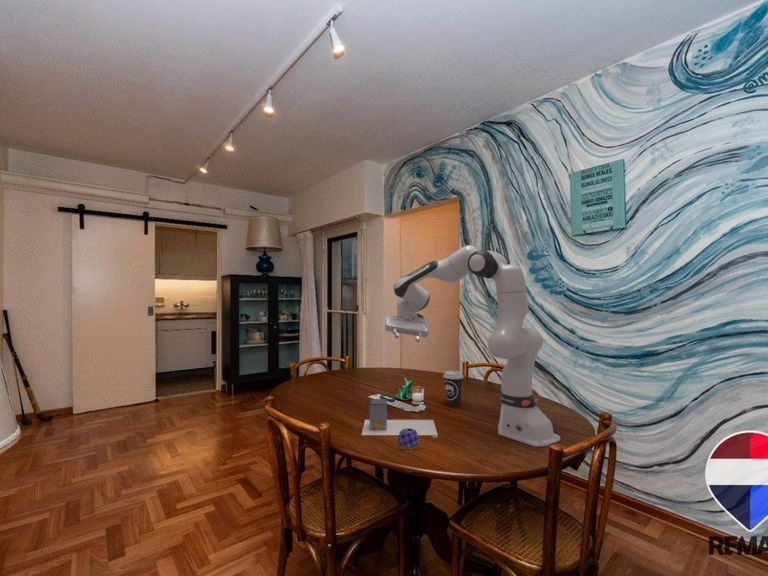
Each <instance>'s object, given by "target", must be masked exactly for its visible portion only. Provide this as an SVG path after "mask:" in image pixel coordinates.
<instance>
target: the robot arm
mask: <svg viewBox="0 0 768 576" xmlns="http://www.w3.org/2000/svg"><path fill="white" fill-rule="evenodd" d="M470 273H471V274H473V275H474V276H476V277H479V278H485V279H490V280H493V281H494V283H495V290H496V300H497V301H496V303H497V317H496V321H495V322H496V323H495V326H494V329H493V331H492V333H491V334H490V335H489V337H488V339H487V349H488V351H489V352H490V354H491V355H492V356H493V357H495V358H498V359H502V360H504V359H505V360H507V362H506V364H505V366H504V367H503V368H502V370H501V373H500V375H501V378H500V379H501V382H500V383H501V390H500V394H499V398H500V400H499V401H500V402H501V403H500V404H501V406H500V413H499V422H498V425H497V431H498V432H497V435H498V436H503V437H505V438H508V439H510V440H514V441H517V442H519V443H522V444H526V445H529V446H532V447H536V448H537V447H547V446H551V445H550V444H552V443H555V444H557V443H559V442H560V441H561V436H560V435H558V434H557V433H554V427H553V423H552V421H551V420H550V419H549V418H548V417H547V416H546V414H545V413H544V412H542V410H541V409H540V408H539V407H538V406H537V403H538V402H539V401H538V400H539V398H535V396H534V394H533V372H534V367H535V364H536V362H535V361H536V358H537V356H538V353H539V351H541V349H542V347H543V345H544V340H543V337H542V335H541V333H540V332H539V330H536V329H533V328H529V327H523V323H524V319H525V318H526V317H527V315H528V313H529V304H528V292H527V286H526V280H525V275H524V272H523V270H522V268H521V267H520V266H519V265H516V264H511V262H510V260H509V258H508V257H507V256H505V255H504V254H502V253H498V252H496V251H494V250H485V249H480V250H479V249H478V248H477V247H475V246H473V245H469V244H468V245H465V246H463V247H461V248H459V249H457V250H456V251H455V252H453V253H452V254H450V256H448V257H446V258H444V259H441V260H432V261H429V262H427V263H426V264H423V265H422V266H420V267H418V268H417V269H416V270H413V271H412V272H410V273H409V274H407V275H404V276H401V277H399V278H398V279H397V280H396V281H395V282H394V284H393V292H394V295H395V296H397V297H398V298H397V300H396V301H397V303H396V311H397V312H396V315H392V314H391V315H390V314H388V315H386V316H385V317H384V321H385V325H384V330H385V331H386V332H390V333H392V335H394V338H395V339H399V338H400V334H403V335H408V336H414V337H415V339H414V340H415V342H417V343H419V342H420V341H421V340H420V339H421V338H428V336H429V333H430V327H429V324H428V322H427V321H426V316H425V315H423V314H421V313H418V312H420V311H423V310H424V309H425V308H426V307H427V306H428V305H429V303H430V298H431V297H430V296H431V295H430V294H431V293H430V292H429V291H428V290H427V289H425V288H424V287H422V286H420V284H418V283H420V282H421V281H423V280H424V279H428V278H431V279H432V278H433V279H438V280H440V281H443V282H447V283H455V282H458V281H461V280H462V279H463V278H464V277H466V276H467V275H469V274H470ZM558 441H559V442H558ZM556 442H557V443H556ZM552 445H553V444H552Z"/></svg>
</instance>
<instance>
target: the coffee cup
mask: <svg viewBox="0 0 768 576" xmlns="http://www.w3.org/2000/svg"><path fill="white" fill-rule="evenodd" d="M442 377H443V378H444V389H445V401H446V405H447V404H448V405H447V406H450V405H451V407H459V406H461V405H460V404H462V403H461V402H462V391H463V379H464V374H463V372H462V371H459V370H447V371H444V374H443V376H442ZM458 405H459V406H458Z"/></svg>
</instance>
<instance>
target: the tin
mask: <svg viewBox="0 0 768 576" xmlns="http://www.w3.org/2000/svg"><path fill="white" fill-rule="evenodd" d="M387 407H388V399H387V398H370V401H369V420H370V430H374V420H383V430H387V420H388V408H387Z"/></svg>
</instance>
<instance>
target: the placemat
mask: <svg viewBox="0 0 768 576" xmlns="http://www.w3.org/2000/svg"><path fill="white" fill-rule="evenodd" d="M406 428H409V429H414V430H416V432H417V435H418V436H432V438H433V439H437V438H439V436H438V432H437V428H436V424H435V422H434V419H387V430H383V429H374V430H370V419H365V420H364V423H363V427H362V432H361V436H399V433H400V431H401V430H402V429H406Z"/></svg>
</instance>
